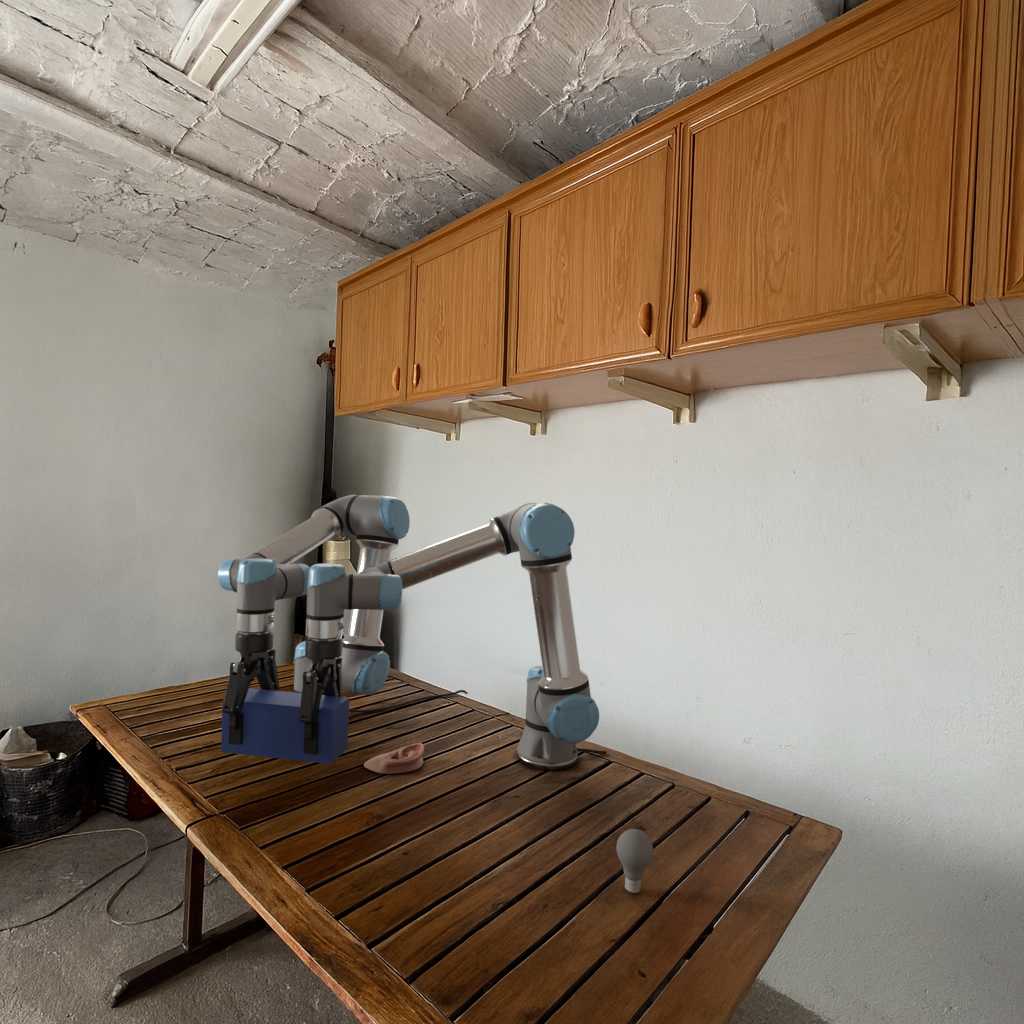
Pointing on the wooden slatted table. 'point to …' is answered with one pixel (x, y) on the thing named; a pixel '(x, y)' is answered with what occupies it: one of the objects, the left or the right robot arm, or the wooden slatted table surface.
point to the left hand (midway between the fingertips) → (251, 733)
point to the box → (288, 727)
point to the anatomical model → (397, 760)
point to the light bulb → (634, 857)
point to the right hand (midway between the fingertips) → (320, 744)
